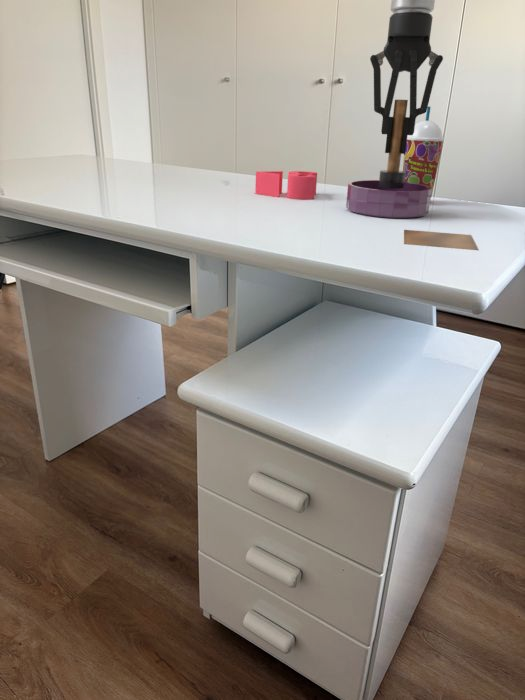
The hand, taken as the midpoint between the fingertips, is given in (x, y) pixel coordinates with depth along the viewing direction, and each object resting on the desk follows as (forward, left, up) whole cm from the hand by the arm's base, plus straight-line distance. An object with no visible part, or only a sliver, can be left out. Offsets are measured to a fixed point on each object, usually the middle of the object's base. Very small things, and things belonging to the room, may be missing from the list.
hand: (395, 152), depth 106 cm
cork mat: (-9, +25, -12) cm, 29 cm away
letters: (+24, -13, -12) cm, 30 cm away
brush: (0, 0, -7) cm, 7 cm away
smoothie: (-6, -16, -12) cm, 20 cm away
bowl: (0, +2, -12) cm, 12 cm away
